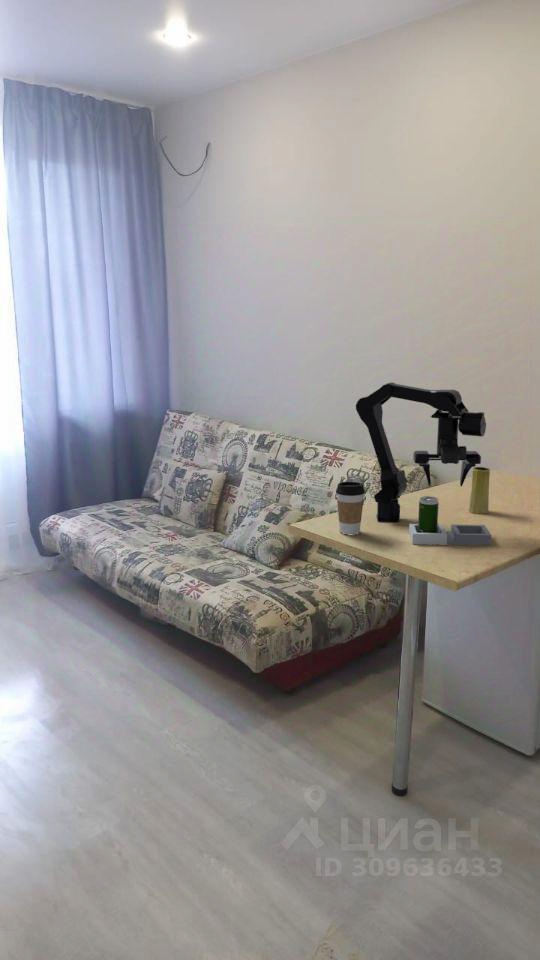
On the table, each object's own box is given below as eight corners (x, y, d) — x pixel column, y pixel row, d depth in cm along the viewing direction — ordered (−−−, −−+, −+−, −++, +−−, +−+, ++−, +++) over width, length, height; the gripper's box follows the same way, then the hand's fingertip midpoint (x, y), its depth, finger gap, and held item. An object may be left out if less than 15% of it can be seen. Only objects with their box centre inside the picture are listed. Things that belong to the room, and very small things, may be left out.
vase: (473, 507, 230) (476, 465, 227) (491, 511, 226) (494, 468, 223) (465, 512, 226) (468, 469, 222) (484, 515, 222) (486, 471, 218)
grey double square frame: (412, 544, 196) (412, 533, 195) (409, 533, 205) (409, 523, 204) (490, 545, 194) (491, 535, 193) (483, 534, 203) (484, 525, 202)
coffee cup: (341, 538, 202) (342, 487, 198) (331, 529, 210) (331, 481, 206) (368, 535, 204) (369, 485, 200) (357, 527, 212) (358, 478, 208)
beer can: (427, 543, 196) (429, 502, 193) (413, 538, 201) (415, 498, 198) (440, 539, 199) (442, 499, 196) (426, 534, 203) (428, 495, 201)
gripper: (418, 438, 196) (416, 492, 200) (486, 438, 194) (483, 493, 198) (413, 431, 207) (412, 483, 211) (478, 432, 205) (475, 483, 209)
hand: (445, 485), depth 207 cm, fingers open, 9 cm apart
